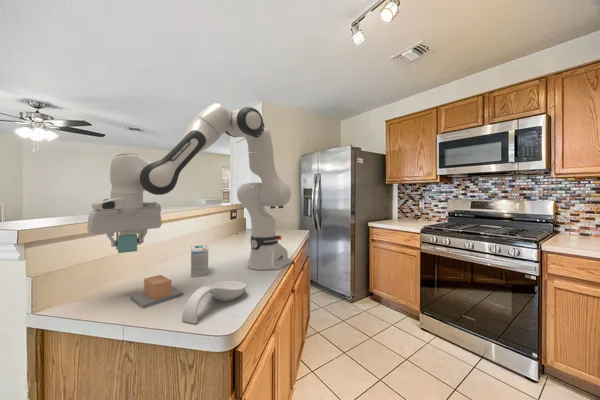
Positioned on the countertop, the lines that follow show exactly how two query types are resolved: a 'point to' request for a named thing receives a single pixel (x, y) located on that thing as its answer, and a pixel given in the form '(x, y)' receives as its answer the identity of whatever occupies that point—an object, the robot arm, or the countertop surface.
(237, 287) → the spoon rest
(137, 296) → the grey baseplate
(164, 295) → the terracotta brick
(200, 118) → the robot arm
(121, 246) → the teal brick
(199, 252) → the light bulb box
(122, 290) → the countertop surface
